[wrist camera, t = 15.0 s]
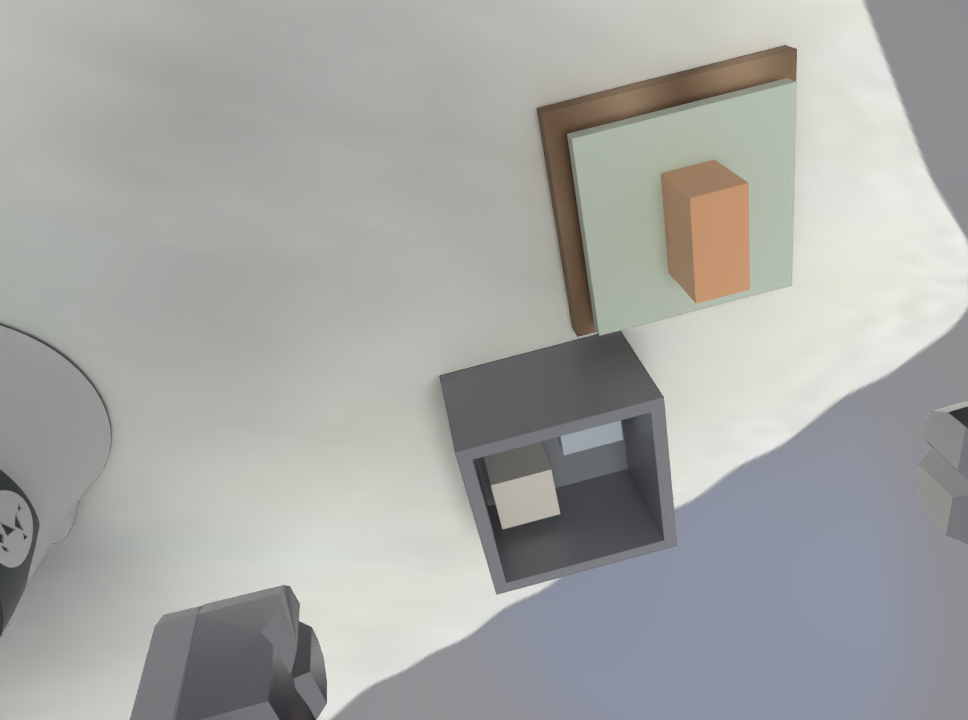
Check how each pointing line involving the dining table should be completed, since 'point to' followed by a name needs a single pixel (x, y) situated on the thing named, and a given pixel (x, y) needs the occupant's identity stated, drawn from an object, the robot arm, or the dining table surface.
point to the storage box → (563, 459)
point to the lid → (687, 205)
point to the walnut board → (623, 106)
